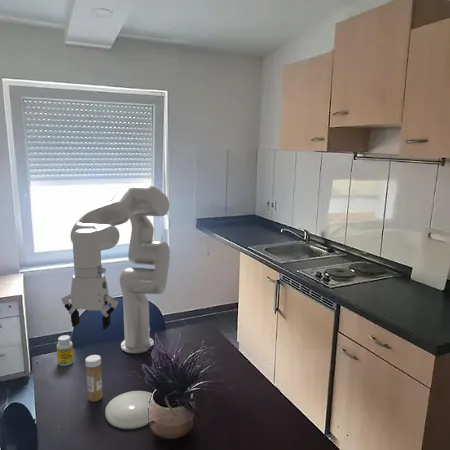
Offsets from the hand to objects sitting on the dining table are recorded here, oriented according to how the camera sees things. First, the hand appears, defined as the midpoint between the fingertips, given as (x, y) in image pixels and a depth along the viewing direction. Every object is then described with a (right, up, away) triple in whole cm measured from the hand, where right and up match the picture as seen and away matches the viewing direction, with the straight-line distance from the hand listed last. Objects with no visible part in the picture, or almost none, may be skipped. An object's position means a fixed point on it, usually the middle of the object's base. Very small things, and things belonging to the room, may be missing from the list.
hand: (91, 326), depth 122 cm
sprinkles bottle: (0, -24, +5) cm, 24 cm away
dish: (+13, -25, -1) cm, 28 cm away
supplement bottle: (-17, -19, +25) cm, 36 cm away
